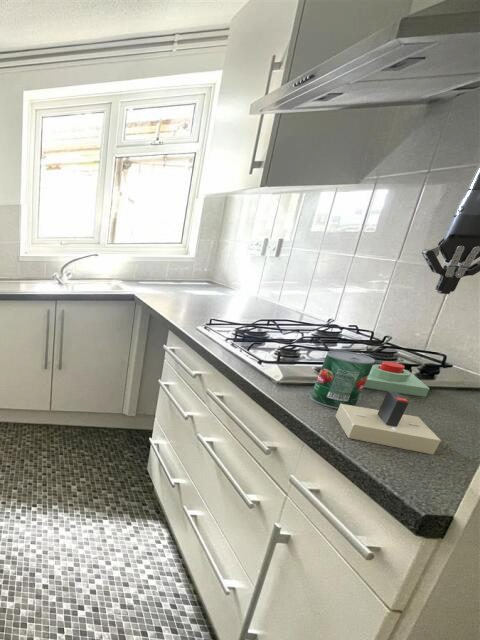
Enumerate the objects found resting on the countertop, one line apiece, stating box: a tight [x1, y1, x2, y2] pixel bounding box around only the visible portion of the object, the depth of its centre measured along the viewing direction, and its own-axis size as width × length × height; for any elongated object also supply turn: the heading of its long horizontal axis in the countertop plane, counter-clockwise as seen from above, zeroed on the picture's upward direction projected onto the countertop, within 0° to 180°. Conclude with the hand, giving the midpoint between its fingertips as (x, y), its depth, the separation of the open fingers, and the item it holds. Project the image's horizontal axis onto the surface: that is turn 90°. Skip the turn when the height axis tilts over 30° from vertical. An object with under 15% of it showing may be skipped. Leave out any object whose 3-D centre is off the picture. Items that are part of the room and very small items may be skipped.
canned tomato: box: [309, 350, 376, 410], centre depth 91 cm, size 8×8×11 cm
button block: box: [363, 363, 430, 398], centre depth 102 cm, size 12×10×4 cm
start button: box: [380, 361, 405, 373], centre depth 101 cm, size 4×4×2 cm
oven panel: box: [335, 404, 442, 456], centre depth 80 cm, size 12×10×3 cm
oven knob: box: [378, 391, 409, 427], centre depth 78 cm, size 5×2×5 cm, turn 152°
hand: (442, 293), depth 97 cm, fingers closed
